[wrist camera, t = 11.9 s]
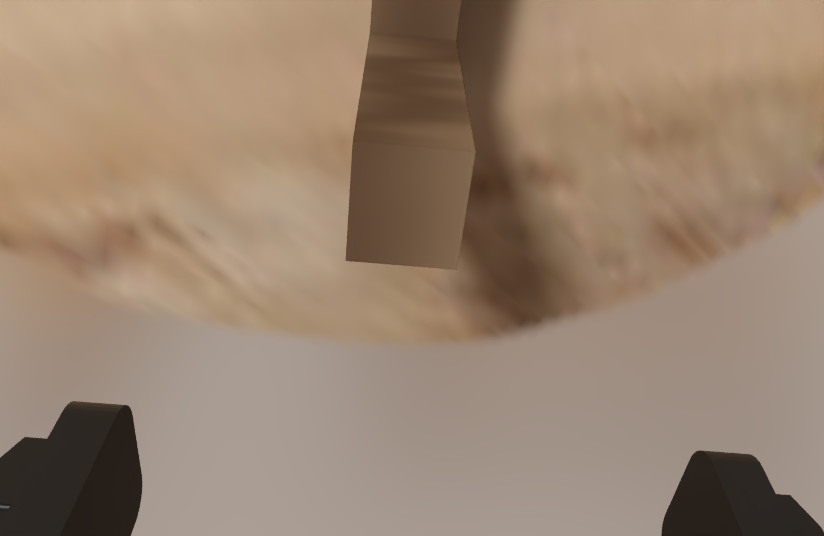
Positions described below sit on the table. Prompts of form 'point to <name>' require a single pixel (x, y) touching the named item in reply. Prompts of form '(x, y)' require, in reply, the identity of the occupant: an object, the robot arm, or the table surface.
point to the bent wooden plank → (411, 139)
